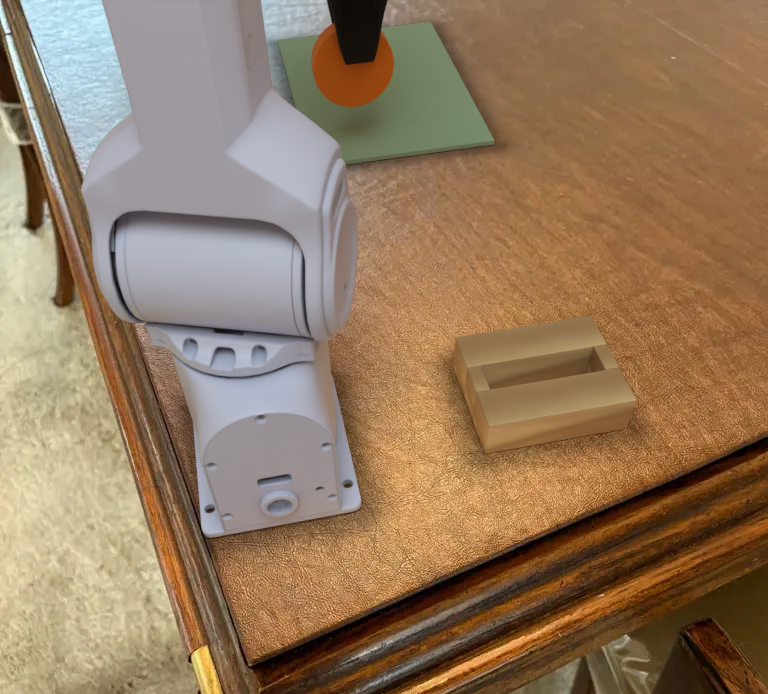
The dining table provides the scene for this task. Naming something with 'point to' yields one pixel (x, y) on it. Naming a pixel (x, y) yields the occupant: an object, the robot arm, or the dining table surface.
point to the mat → (393, 101)
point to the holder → (541, 384)
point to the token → (350, 71)
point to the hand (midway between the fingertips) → (356, 54)
